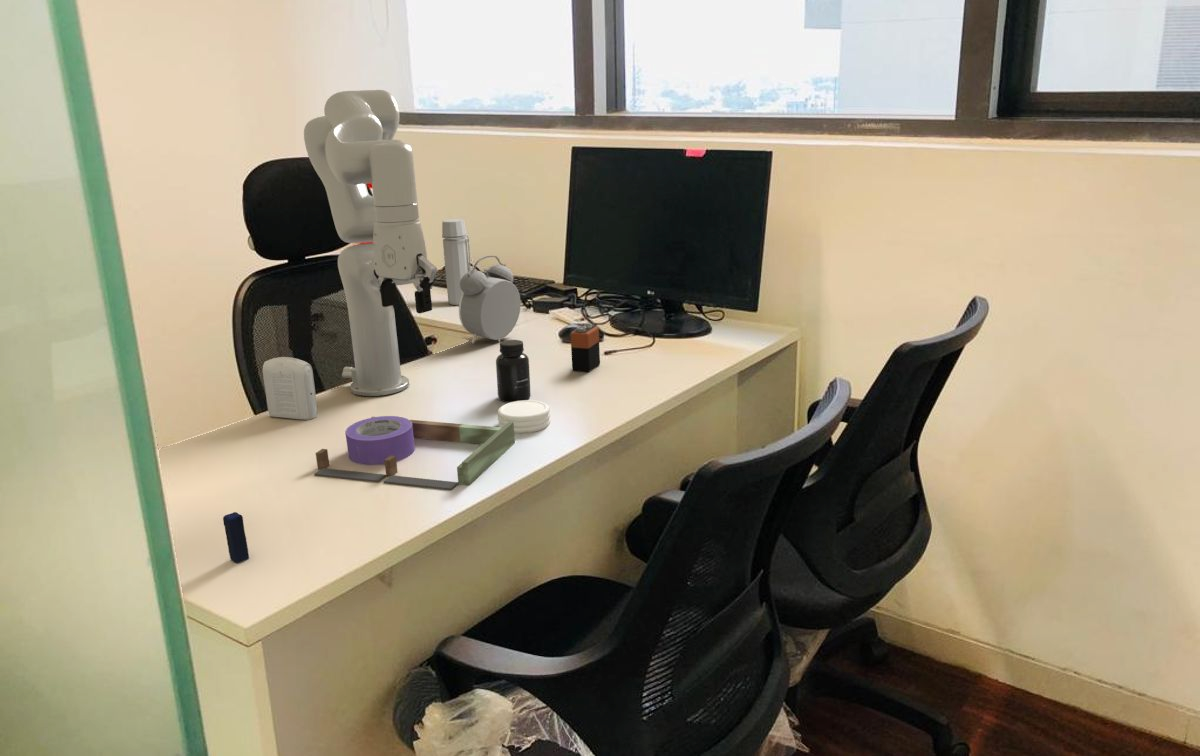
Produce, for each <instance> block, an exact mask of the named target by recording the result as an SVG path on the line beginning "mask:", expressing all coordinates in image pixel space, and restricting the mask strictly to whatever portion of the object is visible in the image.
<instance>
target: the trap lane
mask: <svg viewBox="0 0 1200 756" xmlns="http://www.w3.org/2000/svg"><path fill="white" fill-rule="evenodd" d="M373 417H374V416H371V417H370V418H373ZM409 420H410V421H411V422H412V427H413V436H414V439H420V440H421V439H423V440H431V441H432V440H433V441H441V442H454V443H455V442H456V443H465V444H477V445H480V446H479V447H478V448H476V449H475V450H474V451H472V453H471V454H469V456H468V455H467V457H466V458H465V459H464V460H463V461H462V462H461V463H460V464H459V465H458V466H456V471H457V482H458V485H464V486H470V485H472V484H473V482H474V481H476V480H477V479H478V478H479V477H480V476H481V475H482V474H483V473H484V472H485V471H486V470H487V469H488V468H490V467H491V466H492V465H493V464H494V463H495V462H496V461H497V460H498V459H499V458H500V457H501V456H503V455H504V454H505V453H506V452H507V451H508V450H509V449H510V448H511V447H512V446H513V445H515V443H516V442H515V441H516V440H515V433H514V424H513V422H508V423H506V424H505V425H504V426H503V427H499V426H488V425H487V426H486V425H478V424H468V423H467V424H466V423H452V422H443V421H442V422H439V421H428V420H418V419H417V420H416V419H409ZM315 458H316V465H317V470H320V469H322V468H328V467H329V466H330V459H329V452H328V448H321V449H320V450H318V451H317V452H315ZM384 461H385V464H384V468H385V475H386V477H387V478H388V477H390V476H391V475H394V476H396V474H397V473H398V465H397V464H398V462H397V461H396V456H391V455H390V456H389V457H388V458H386V459H385V460H384Z"/></svg>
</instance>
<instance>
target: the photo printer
mask: <svg viewBox="0 0 1200 756" xmlns="http://www.w3.org/2000/svg"><path fill="white" fill-rule="evenodd" d="M262 376H263V377H262V378H263V384H264V391H265V397H266V406H267V412H268V415H269V416H270V417H273V418H285V419H295V420H306V421H307V420H309V421H310V420H313V419H315V418H316V417H317V415H318V414H319V413H318V405H317V395H316V388H315V387H316V386H315V380H314V372H313V367H312V365H311V364H310V363H308V362H307V361H305V360H302V359H299V358H295V357H291V356H290V357H289V356H279V357H278V356H277V357H273V358H270V359H268V360H266V361H264V363H263V365H262Z"/></svg>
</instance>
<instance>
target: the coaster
mask: <svg viewBox="0 0 1200 756" xmlns="http://www.w3.org/2000/svg"><path fill="white" fill-rule="evenodd" d="M497 415H498V417H497V420H498V427H503V426H504V425H505V424H506V423H508V422H513V424H514V434H529V432H530V433H534V432H535V433H536V432H539V431H542V430H545V429H546V428H547V427H549V425H550V424H551V413H550V407H549V405H548V404H546V403H545V402H543V401H540V400H528V399H527V400H523V401H515V402H506V404H503V405H502V406H500V407H499V408H498V410H497Z"/></svg>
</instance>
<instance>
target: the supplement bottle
mask: <svg viewBox="0 0 1200 756" xmlns="http://www.w3.org/2000/svg"><path fill="white" fill-rule="evenodd" d="M524 351H525V350H524V342H523V340H519V339H508V340H507V339H506V340H502V341H500V342H499V352H500V354H499V355H498V356H497V357H496V358H495V369H496V370H495V371H496V384H497V386H496V387H497V397H498V399H499V400H500V401H501V402H505V403H511V402H515V401H523V400H528V399H530V397H531V377H530V376H531V375H530V359H529V356H528V355H527V354H526V353H524Z"/></svg>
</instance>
